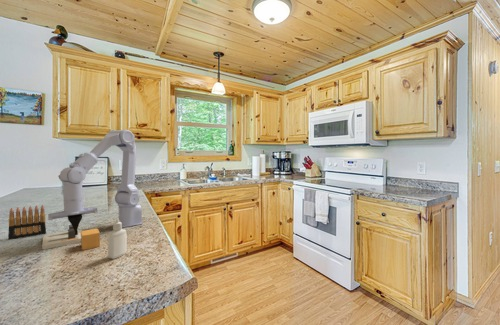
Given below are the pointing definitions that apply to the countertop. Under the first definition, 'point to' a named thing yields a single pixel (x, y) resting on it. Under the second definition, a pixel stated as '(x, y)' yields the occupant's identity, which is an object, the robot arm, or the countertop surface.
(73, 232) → the block
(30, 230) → the ammunition clip
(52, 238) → the panel
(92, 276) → the countertop surface
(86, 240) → the cap
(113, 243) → the eye dropper bottle
